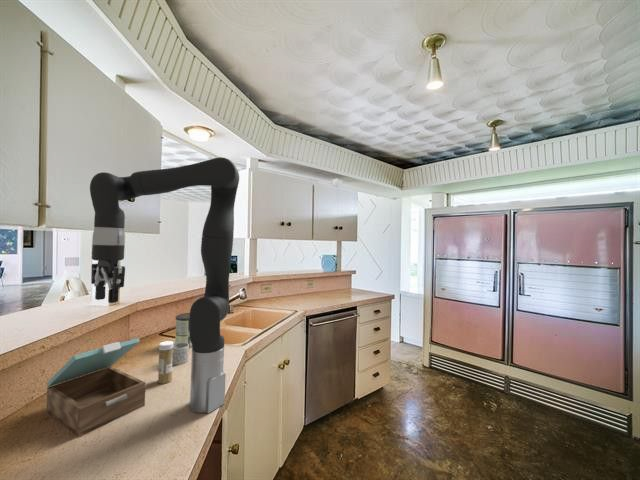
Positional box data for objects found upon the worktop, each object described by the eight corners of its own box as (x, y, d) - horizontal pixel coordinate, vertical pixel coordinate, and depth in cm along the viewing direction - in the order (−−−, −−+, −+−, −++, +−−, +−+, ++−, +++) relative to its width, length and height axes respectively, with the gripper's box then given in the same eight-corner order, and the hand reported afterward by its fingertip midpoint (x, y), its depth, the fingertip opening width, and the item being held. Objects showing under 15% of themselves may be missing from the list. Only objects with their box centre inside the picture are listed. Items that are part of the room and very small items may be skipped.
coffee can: (180, 341, 138) (181, 312, 138) (201, 341, 139) (202, 312, 139) (170, 348, 128) (171, 318, 128) (193, 349, 128) (194, 318, 128)
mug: (179, 357, 119) (180, 341, 119) (191, 360, 117) (192, 344, 117) (159, 366, 110) (159, 349, 110) (171, 369, 108) (172, 352, 108)
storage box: (146, 406, 84) (147, 383, 84) (80, 438, 70) (81, 410, 70) (110, 387, 94) (111, 366, 94) (46, 411, 80) (47, 387, 80)
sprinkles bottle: (172, 382, 98) (174, 343, 98) (157, 385, 96) (159, 346, 96) (171, 376, 102) (172, 339, 102) (157, 379, 100) (158, 341, 100)
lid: (142, 341, 85) (140, 335, 86) (77, 360, 71) (76, 352, 72) (111, 368, 94) (110, 362, 94) (47, 389, 79) (46, 382, 80)
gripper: (136, 244, 81) (134, 302, 81) (110, 243, 88) (108, 296, 88) (106, 244, 74) (103, 306, 74) (81, 242, 81) (79, 299, 81)
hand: (106, 300), depth 81 cm, fingers open, 7 cm apart
